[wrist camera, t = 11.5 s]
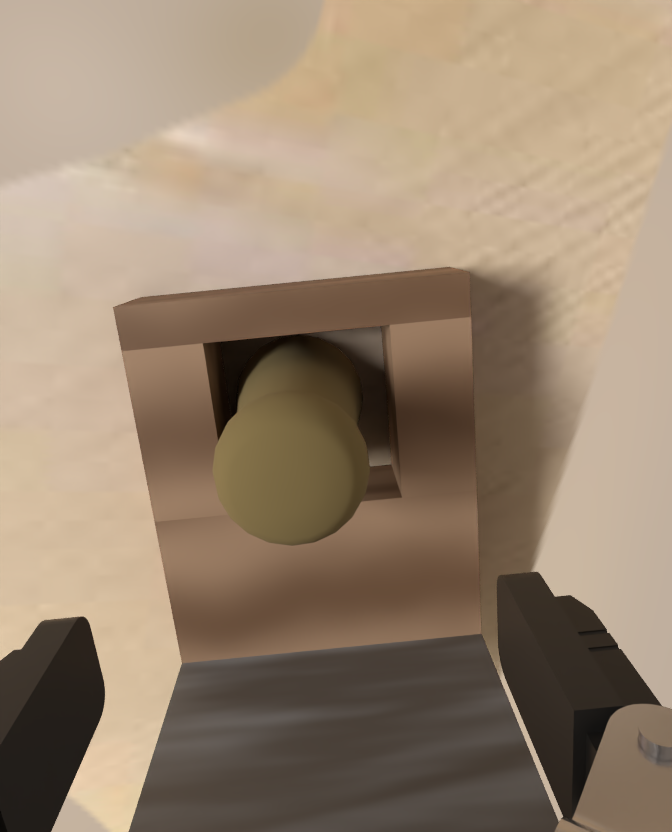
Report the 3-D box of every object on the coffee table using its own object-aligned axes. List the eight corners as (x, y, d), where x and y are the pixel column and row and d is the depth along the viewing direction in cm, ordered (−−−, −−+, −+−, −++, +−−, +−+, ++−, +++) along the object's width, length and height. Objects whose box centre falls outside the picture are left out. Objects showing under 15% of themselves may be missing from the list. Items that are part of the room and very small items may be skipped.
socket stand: (141, 297, 28) (-347, 469, 7) (449, 267, 28) (810, 355, 8) (203, 645, 33) (18, 1312, 13) (463, 619, 33) (700, 1245, 13)
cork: (256, 317, 29) (220, 366, 18) (380, 357, 29) (415, 427, 19) (221, 437, 30) (169, 546, 20) (340, 472, 31) (351, 596, 20)
